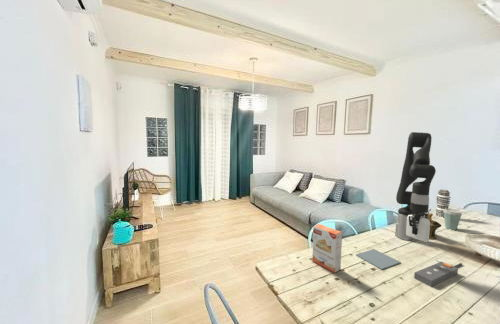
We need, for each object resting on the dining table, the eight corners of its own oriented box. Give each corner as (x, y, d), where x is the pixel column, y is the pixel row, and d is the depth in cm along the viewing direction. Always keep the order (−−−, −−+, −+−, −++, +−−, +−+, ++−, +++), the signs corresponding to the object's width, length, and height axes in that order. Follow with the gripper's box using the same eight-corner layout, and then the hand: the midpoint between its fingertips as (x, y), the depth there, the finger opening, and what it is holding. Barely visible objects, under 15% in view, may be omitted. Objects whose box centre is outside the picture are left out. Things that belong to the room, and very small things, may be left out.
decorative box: (441, 238, 150) (443, 211, 148) (432, 240, 147) (434, 212, 145) (411, 228, 169) (413, 203, 167) (402, 229, 165) (404, 204, 164)
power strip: (413, 277, 106) (413, 270, 106) (452, 261, 121) (453, 255, 121) (430, 286, 100) (431, 279, 99) (470, 268, 115) (470, 261, 114)
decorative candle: (450, 220, 186) (452, 191, 184) (436, 218, 191) (438, 190, 189) (447, 216, 194) (449, 189, 192) (434, 215, 199) (436, 188, 197)
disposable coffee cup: (456, 227, 170) (458, 209, 168) (463, 232, 160) (465, 213, 159) (439, 225, 174) (441, 207, 173) (445, 230, 164) (446, 211, 163)
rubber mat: (355, 255, 127) (355, 254, 127) (373, 249, 134) (373, 249, 134) (381, 269, 113) (381, 268, 113) (400, 263, 119) (400, 262, 119)
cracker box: (311, 261, 120) (312, 225, 119) (318, 258, 124) (319, 223, 122) (334, 273, 109) (336, 234, 107) (341, 269, 113) (342, 231, 111)
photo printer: (404, 235, 119) (405, 213, 118) (408, 233, 121) (410, 212, 119) (426, 243, 110) (427, 219, 108) (430, 241, 111) (432, 218, 110)
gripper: (419, 198, 119) (417, 228, 121) (403, 201, 114) (401, 232, 115) (435, 202, 113) (433, 233, 114) (419, 205, 107) (417, 238, 108)
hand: (417, 233), depth 115 cm, fingers closed on photo printer, 4 cm apart
